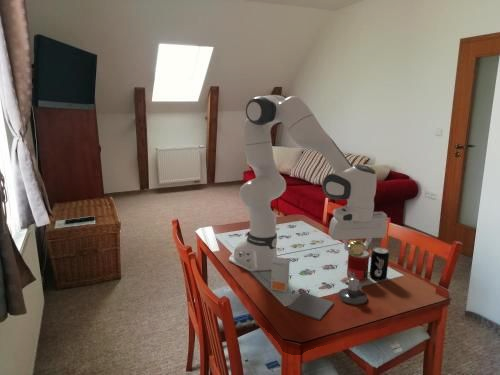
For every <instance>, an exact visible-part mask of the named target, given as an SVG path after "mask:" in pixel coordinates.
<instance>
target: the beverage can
mask: <svg viewBox="0 0 500 375" xmlns="http://www.w3.org/2000/svg"><path fill="white" fill-rule="evenodd" d="M389 253H390V252H389V250H388V248H385V247H380V246H376V247H373V248H372V251H371V256H370V264H369V265H370V266H369V276H370V277H371V279H373V280H375V281H384V280H386V278H388V277H387V276H388V268H389V259H390V254H389Z"/></svg>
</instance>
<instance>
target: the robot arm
mask: <svg viewBox="0 0 500 375" xmlns="http://www.w3.org/2000/svg"><path fill="white" fill-rule="evenodd" d="M245 115H246V119H245V121H244V124H243V141H244V151H245V158H246V163H247V165H248V166H249V167H251V168H252V170H253V172H254V175H255V178H253V179H250V180H248V181H247V182H245V183H243V185H241V186H240V188H239V192H238V193H239V195H238V196H239V199H240V201H241V203H242V204H243V205H244V206H245V207H246V208H247V211H248V214H249V231H247V233H244V237H246V239H244V240H243V241H241V242H239V243H238V244H237V245H236V246H235V248H234V251H233V253H232V254H230V256H229V257H228V261H229V262H230V263H232V264H234V265H236V266H239V267H241V268H242V269H245V270H247V271H248V272H251V273H252V272H257V271H261V272H262V271H272V260H273V259H274V257H278V253H277V243H278V234H277V216H276V214H275V213H274V212H273V210H272V208H271V202H272V201H273V200H276V199H277V198H279V197H280V196H282V195H283V193H285V192H286V190H287V182H286V180H285V178H284V176H282V175H281V173H280V172H279V170H278V168H277V164H276V162H275V157H274V150H273V143H272V134H271V131H272V128H273V126H279V125H281V124H283V125H284V127H285V129H286V131H287V132H288V134H289V136H290V137H291V139H292V140H293V142H294V143H295V144H296V145H297V146H299V147H301V148H304V149H308V150H312V151H314V152H316V153H319V154H320V155H322V156H323V158H324V159H325V160H326V162H327V164H328V165H329V166H330V167H331V169H332V170H333V172H331V173H329V174H327V175H326V176H325V177H323V179H322V184H321V187H322V191H323V193H324V194H325V196H326V197H327V198H329V199H331V200H335V201H337V200H338V201H339V200H340V201H347V204H345V205H343V206H340V207H338V208H335V209H333V211H332V215H333V217H331V220H330V222H329V226H328V227H329V229H328V236H329V237H330V238H331V239H332V240H333V241H342V242H343V244H344V250H345V251H347V252H348V250H350V247H351V246H350V245H349V240H359V239H360V240H361V239H364V240H365V241H363V242H364V250H368V249H369V245H370V244H371V242H372V241H373V240H372V239H380V238H381V239H383V238H385V237H386V235H387V220H388V215H387V213H385V212H384V211H374V210H375V196H376V193H377V192H376V191H377V173H376V170H375V169H374V168H372V167H370V166H368V165H364V164H355V165H353V164H351V162H350V161H349V160H348V159H347V157H346V156H345V155H344V153H343V152H342V151H341V150H340V148H339V147H338V145H337V144H336V143H335V141H334V140H333V139H332V137H331V136H330V135H329V134H328V133H327V131H326V130H325V129H324V128H323V126H321V124H320V122H319V121H318V120H317V118H316V117H315V114H314V113H313V112H312V110H311V108H310V107H309V106H308V105H307V104H306V103H305V101H304V99H302V98H301V97H300V96H297V95H291V96H286V95H281V94H279V95H278V94H267V95H264V96H263V95H261V96H259V95H258V96H255V97H253V98H252V99H250V100H249V101H248V102H247V103H246V107H245Z"/></svg>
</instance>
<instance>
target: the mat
mask: <svg viewBox="0 0 500 375" xmlns="http://www.w3.org/2000/svg"><path fill="white" fill-rule="evenodd" d="M334 304H335V302H333V301H331V300H328V299H326V298H325V299H324V298H323V297H320V296H316V295H313V294H310V293H307V292H305V291H303V292H301V294H299V296H297V297H296V298H295V299H294V300H293V301H292V302H291V303H290V304H289V305H288V306H287V309H288V310H290V311H294V312H297V313H300V314H302V315H304V316H307V317H310V318H313V319H314V320H317V321H321V319H322V318H323V317H324V315H326V314H327V313H328V311H329V310H330V309H331V308H332V306H334Z"/></svg>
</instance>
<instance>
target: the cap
mask: <svg viewBox="0 0 500 375" xmlns="http://www.w3.org/2000/svg"><path fill="white" fill-rule="evenodd" d="M364 242H365V241H362V240H361V239H360V240H359V239H349V240H348V244H349V245H350V246H351V247H350V250H347V253H348V254H350V255H352V256H362V255H363V251H364V250H365V249H364Z"/></svg>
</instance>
